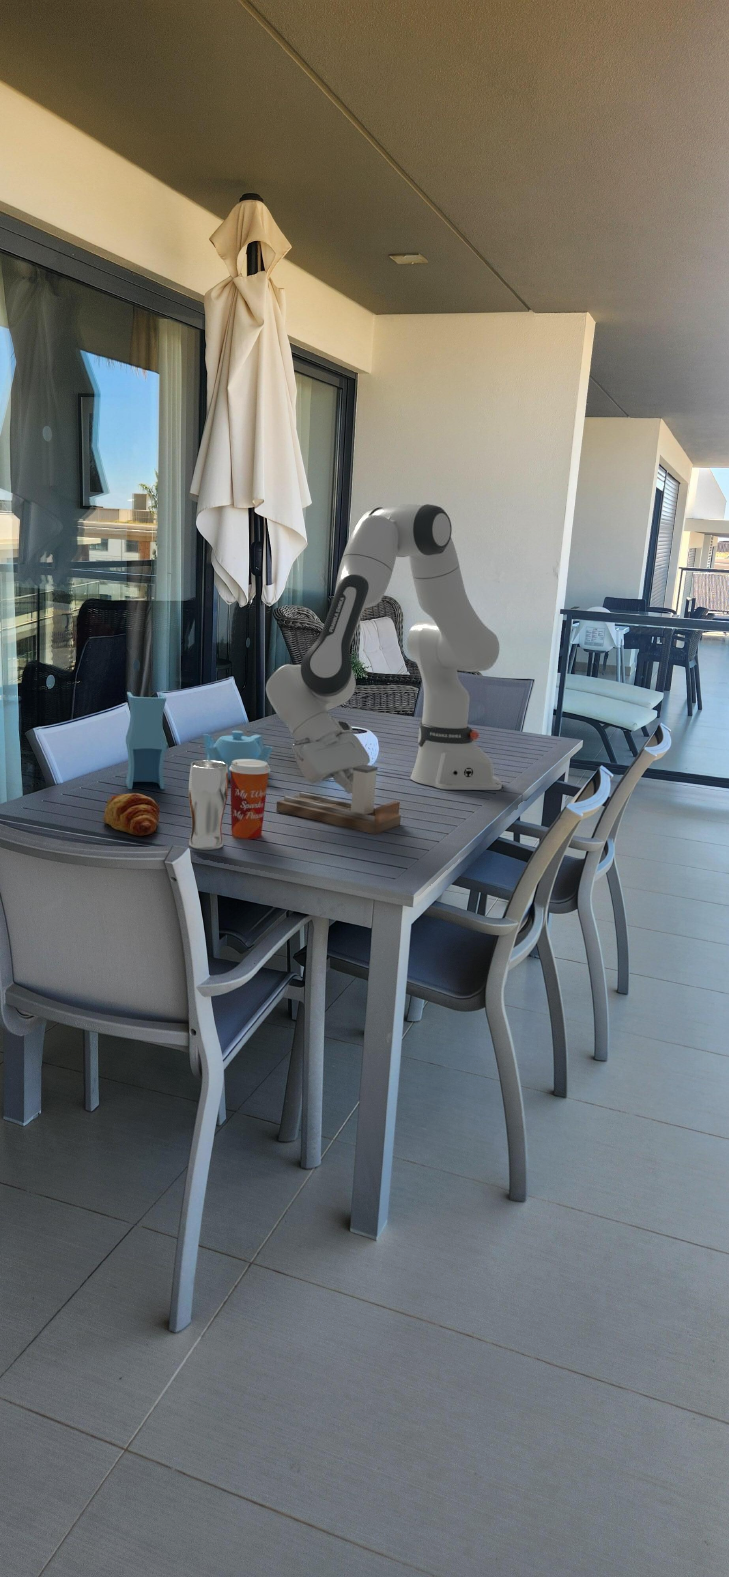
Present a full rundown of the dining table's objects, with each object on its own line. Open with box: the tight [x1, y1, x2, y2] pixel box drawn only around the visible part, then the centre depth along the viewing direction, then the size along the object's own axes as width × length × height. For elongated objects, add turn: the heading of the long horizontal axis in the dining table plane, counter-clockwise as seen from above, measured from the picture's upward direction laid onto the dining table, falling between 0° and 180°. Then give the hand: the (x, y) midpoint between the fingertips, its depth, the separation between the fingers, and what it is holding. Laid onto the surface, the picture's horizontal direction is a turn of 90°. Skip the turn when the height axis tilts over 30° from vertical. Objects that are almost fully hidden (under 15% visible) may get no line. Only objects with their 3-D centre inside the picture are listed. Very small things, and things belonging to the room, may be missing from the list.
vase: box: [125, 691, 167, 790], centre depth 218 cm, size 8×8×20 cm
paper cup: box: [229, 759, 272, 840], centre depth 187 cm, size 8×8×14 cm
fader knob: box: [350, 764, 378, 814], centre depth 201 cm, size 3×4×9 cm
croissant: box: [103, 793, 161, 837], centre depth 188 cm, size 21×10×8 cm, turn 30°
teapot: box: [202, 730, 274, 782], centre depth 234 cm, size 15×15×11 cm
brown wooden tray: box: [276, 791, 402, 835], centre depth 205 cm, size 24×10×5 cm, turn 59°
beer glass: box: [188, 759, 229, 851], centre depth 178 cm, size 7×7×15 cm
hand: (354, 791), depth 202 cm, fingers closed, pressing on fader knob
